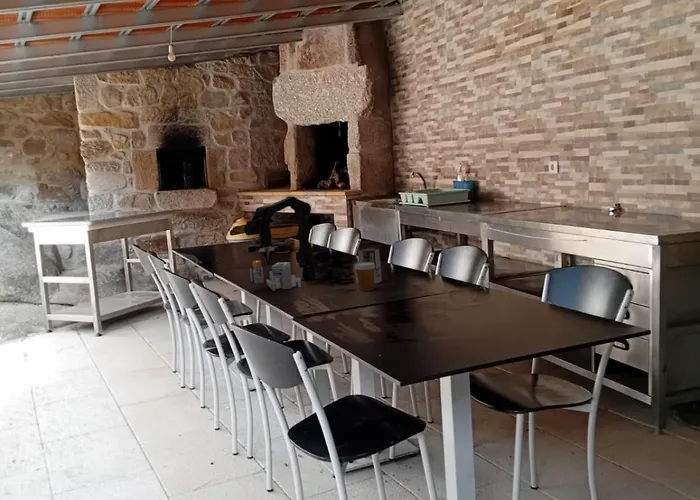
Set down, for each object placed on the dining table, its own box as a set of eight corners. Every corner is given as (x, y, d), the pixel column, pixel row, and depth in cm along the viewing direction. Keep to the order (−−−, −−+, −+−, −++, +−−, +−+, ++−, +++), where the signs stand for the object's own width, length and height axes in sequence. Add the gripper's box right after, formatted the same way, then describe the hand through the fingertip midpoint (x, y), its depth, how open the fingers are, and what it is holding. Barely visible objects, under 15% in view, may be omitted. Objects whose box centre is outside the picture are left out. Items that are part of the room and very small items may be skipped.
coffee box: (382, 281, 319) (380, 248, 317) (377, 283, 314) (375, 250, 311) (365, 280, 323) (363, 248, 321) (359, 283, 318) (357, 250, 315)
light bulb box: (286, 287, 321) (284, 265, 319) (273, 287, 322) (271, 265, 321) (292, 282, 331) (290, 261, 330) (279, 283, 332) (277, 262, 331)
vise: (288, 276, 349) (287, 264, 348) (301, 287, 317) (300, 274, 316) (250, 280, 344) (249, 268, 343) (260, 292, 312) (258, 279, 311)
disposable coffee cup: (366, 286, 309) (364, 261, 307) (381, 288, 302) (379, 262, 300) (352, 290, 302) (350, 264, 301) (366, 292, 296) (365, 266, 294)
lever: (260, 274, 343) (259, 269, 345) (261, 264, 335) (260, 258, 337) (253, 275, 342) (252, 269, 344) (253, 265, 334) (252, 259, 336)
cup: (260, 257, 427) (257, 230, 424) (253, 252, 451) (251, 227, 448) (313, 251, 438) (311, 225, 435) (303, 247, 462) (302, 222, 459)
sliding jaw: (300, 284, 323) (298, 266, 322) (302, 287, 316) (301, 268, 315) (269, 288, 319) (268, 270, 318) (272, 290, 312) (270, 272, 311)
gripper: (280, 229, 324) (283, 260, 327) (243, 233, 319) (245, 264, 321) (285, 231, 314) (288, 263, 316) (246, 235, 308) (249, 268, 310)
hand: (267, 265), depth 316 cm, fingers closed
